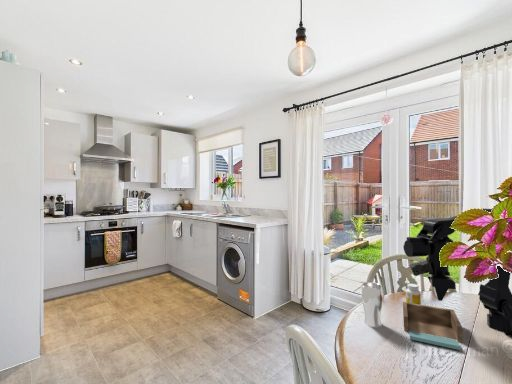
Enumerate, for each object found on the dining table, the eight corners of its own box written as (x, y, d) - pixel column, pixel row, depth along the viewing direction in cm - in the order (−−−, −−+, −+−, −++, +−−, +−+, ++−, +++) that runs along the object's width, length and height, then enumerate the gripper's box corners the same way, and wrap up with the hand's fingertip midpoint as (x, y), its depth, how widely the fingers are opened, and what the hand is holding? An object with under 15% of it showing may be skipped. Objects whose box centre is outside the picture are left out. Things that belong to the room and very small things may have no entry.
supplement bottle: (404, 307, 108) (403, 284, 109) (409, 304, 112) (408, 282, 112) (418, 311, 104) (417, 288, 104) (422, 308, 108) (422, 285, 108)
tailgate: (455, 339, 82) (460, 346, 76) (456, 343, 82) (460, 350, 76) (409, 330, 88) (409, 335, 82) (409, 333, 88) (410, 339, 82)
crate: (454, 326, 92) (453, 309, 92) (462, 345, 81) (462, 326, 81) (403, 317, 100) (402, 301, 100) (404, 333, 88) (403, 316, 88)
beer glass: (385, 331, 90) (384, 289, 90) (364, 330, 91) (363, 288, 91) (380, 322, 96) (379, 282, 97) (360, 320, 98) (359, 281, 98)
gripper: (408, 248, 101) (410, 288, 101) (413, 260, 84) (415, 307, 84) (443, 250, 96) (445, 292, 96) (454, 263, 79) (457, 313, 79)
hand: (439, 300), depth 89 cm, fingers closed
